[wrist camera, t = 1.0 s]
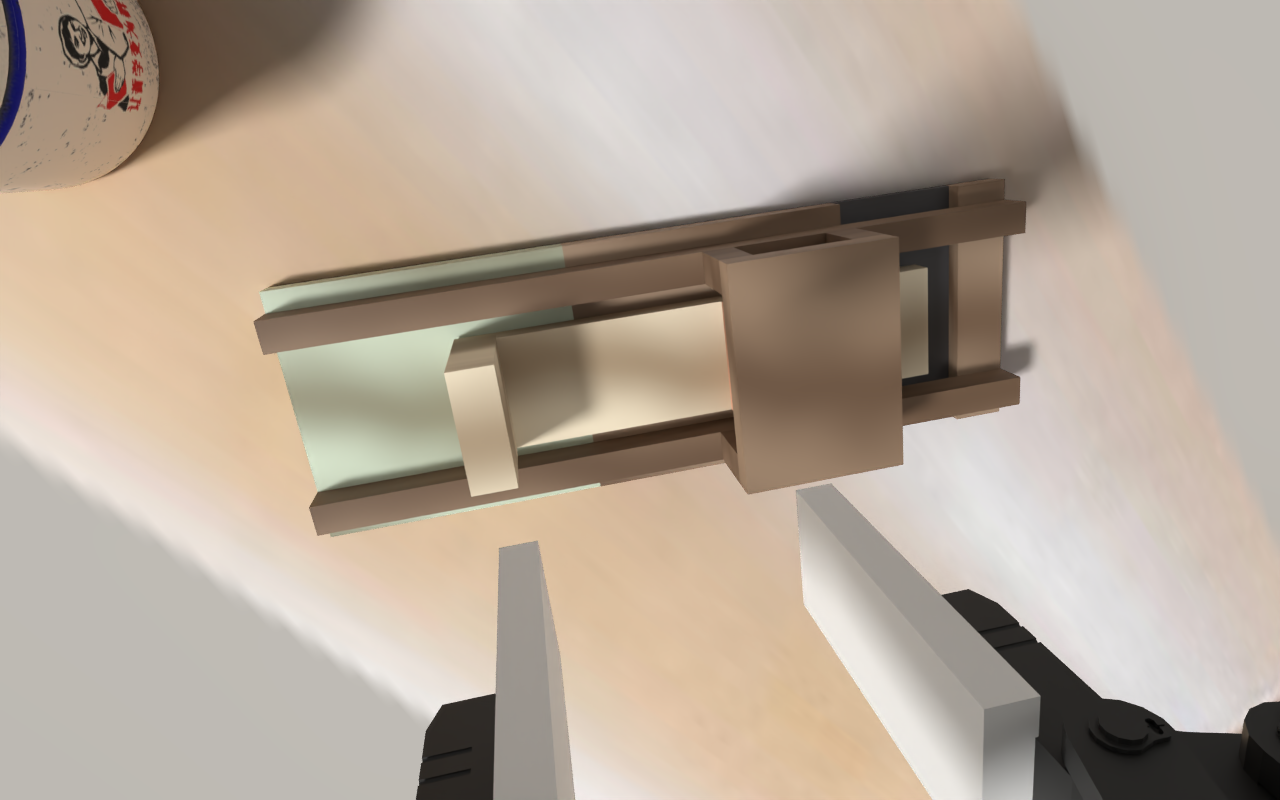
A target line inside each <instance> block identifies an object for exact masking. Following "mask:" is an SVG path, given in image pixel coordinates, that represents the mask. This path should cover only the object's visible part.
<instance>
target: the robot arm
mask: <svg viewBox="0 0 1280 800" xmlns="http://www.w3.org/2000/svg"><path fill="white" fill-rule="evenodd" d="M796 499H797V514H798V528H799V543H800V557H801V571H802V586H803V600H804V605H805V607H806V608H807V610H808V611H809V613H810V614H811V616H812V617H813V619H814V621H815V622H816V624H817V625H818V627H819V628H820V630H821V631H822V633H823V634H824V636H825V637H826V639H827V640H828V642H829V643H830V645H831V646H832V648H833V649H834V651H835V652H836V654H837V655H838V657H839V658H840V660H841V661H842V663H843V665H844V666H845V668H846V669H847V671H848V672H849V674H850V675H851V677H852V678H853V680H854V681H855V683H856V684H857V686H858V687H859V689H860V690H861V692H862V693H863V695H864V696H865V698H866V699H867V701H868V702H869V704H870V705H871V707H872V709H873V710H874V712H875V713H876V715H877V716H878V718H879V719H880V721H881V722H882V724H883V725H884V727H885V728H886V730H887V731H888V733H889V734H890V736H891V737H892V739H893V740H894V742H895V743H896V745H897V746H898V748H899V749H900V751H901V753H902V754H903V756H904V757H905V759H906V760H907V762H908V763H909V765H910V766H911V768H912V769H913V771H914V772H915V774H916V775H917V777H918V778H919V780H920V781H921V783H922V784H923V786H924V787H925V789H926V790H927V792H928V793H929V795H930V797H931V798H932V800H1280V702H1264V703H1262V704H1259V705H1257V706H1255V707H1253V708H1251V709H1249V711H1248V713H1247V715H1246V717H1245V719H1244V724H1243V731H1242V734H1232V733H1199V732H1182V731H1175V730H1174V729H1173V728H1172V727H1171V726H1170V725H1169V724H1168V723H1167V722H1166V721H1165V720H1164V719H1163V718H1161V717H1159V716H1157V715H1156V714H1154V713H1152V712H1150V711H1148V710H1147V709H1145V708H1143V707H1140V706H1137V705H1134V704H1131V703H1127V702H1124V701H1121V700H1113V699H1102V698H1101V697H1100V696H1099V695H1098V694H1097V693H1096V692H1094V691H1093V690H1092V689H1091V688H1090V687H1089V686H1088V685H1087V684H1086V683H1085V682H1084V681H1082V680H1081V679H1080V678H1079V677H1078V676H1077V675H1076V674H1075V673H1074V672H1073V671H1071V670H1070V669H1069V668H1068V667H1067V666H1066V665H1065V664H1064V663H1063V662H1062V661H1061V660H1059V659H1058V658H1057V657H1056V656H1055V655H1054V654H1053V653H1052V652H1051V651H1050V650H1048V649H1047V648H1046V647H1045V646H1044V645H1043V644H1042V643H1041V642H1039V643H1038V642H1037V640H1036V638H1035V637H1034V636H1033V635H1032V634H1031V633H1030V632H1029V631H1028V630H1027V629H1025V628H1024V627H1023V626H1022V627H1020V625H1019V622H1018V621H1017V620H1016V619H1015V618H1013V617H1012V616H1011V615H1010V614H1009V613H1008V612H1007V611H1006V610H1005V609H1004V608H1003V607H1001V606H1000V605H999V604H998V603H996V602H994V601H992V600H990V599H988V598H986V597H984V596H982V595H980V594H978V593H975V592H973V591H971V590H969V589H967V590H962V591H958V592H953V593H949V594H944V595H940V594H939V592H938V591H937V590H936V589H935V588H934V587H933V586H932V585H931V584H930V583H929V582H928V581H927V580H926V579H925V578H924V577H923V576H922V575H921V574H920V573H919V572H918V571H917V570H916V569H915V568H914V567H913V566H912V565H911V564H910V563H909V562H908V561H907V560H906V559H905V558H904V557H903V556H902V555H901V554H900V553H899V552H898V551H897V550H896V549H895V548H894V547H893V546H892V545H891V544H890V543H889V542H888V541H887V540H886V539H885V538H884V537H883V536H882V535H881V534H880V533H879V532H878V531H877V530H876V529H875V528H874V527H873V526H872V525H871V524H870V522H869V521H868V520H867V519H866V518H865V517H864V516H863V515H862V514H861V513H860V512H859V511H858V510H857V509H856V508H855V507H854V506H853V505H852V504H851V503H850V502H849V501H848V500H847V499H846V498H845V497H844V496H843V495H842V494H841V493H840V492H839V491H838V490H837V489H836V488H835V487H834V486H833V485H832V484H826V485H821V486H816V487H811V488H806V489H801V490H796ZM422 760H423V762H422V763H421V769H420V776H419V786H418V789H417V796H416V800H575V793H574V784H573V774H572V764H571V755H570V745H569V735H568V726H567V716H566V706H565V697H564V687H563V677H562V668H561V658H560V652H559V647H558V642H557V637H556V631H555V626H554V621H553V616H552V611H551V606H550V601H549V596H548V590H547V585H546V580H545V575H544V570H543V565H542V560H541V554H540V549H539V544H538V541H534V542H528V543H523V544H518V545H513V546H508V547H503V548H499V579H498V621H497V662H496V694H491V695H486V696H482V697H477V698H472V699H468V700H463V701H459V702H454V703H449V704H445V705H442V706H441V708H440V710H439V711H438V713H437V714H436V716H435V717H434V719H433V721H432V722H431V724H430V725H429V727H428V728H427V730H426V734H425V741H424V748H423V755H422Z"/></svg>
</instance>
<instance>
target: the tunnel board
mask: <svg viewBox="0 0 1280 800" xmlns="http://www.w3.org/2000/svg"><path fill="white" fill-rule="evenodd" d="M1004 189H1005V179H985V180H978V181H971V182H965V183H958V184H951V185H945V186H938V187H932V188H925V189H918V190H912V191H905V192H898V193H892V194H885V195H879V196H872V197H865V198H859V199H852V200H845V201H839V202H832V203H825V204H819V205H812V206H806V207H799V208H792V209H786V210H779V211H772V212H766V213H759V214H752V215H746V216H739V217H733V218H726V219H719V220H713V221H706V222H699V223H693V224H686V225H680V226H673V227H666V228H660V229H653V230H646V231H640V232H633V233H626V234H620V235H613V236H607V237H600V238H593V239H587V240H580V241H573V242H567V243H560V244H553V245H547V246H540V247H534V248H527V249H520V250H514V251H507V252H500V253H494V254H487V255H481V256H474V257H467V258H461V259H454V260H447V261H441V262H434V263H427V264H421V265H414V266H408V267H401V268H394V269H388V270H381V271H374V272H368V273H361V274H354V275H348V276H341V277H335V278H328V279H321V280H315V281H308V282H301V283H295V284H288V285H282V286H275V287H268V288H266V289H264V290H262V291H260V292H259V293H260V296H261V300H262V303H263V307H264V310H265V313H266V314H264V315H263V316H261V317H260V318H258V319H257V320H255V321H254V325H255V328H256V332H257V335H258V338H259V342H260V345H261V348H262V352H263V355H266V354H272V353H277V354H278V358H279V361H280V365H281V368H282V371H283V375H284V378H285V382H286V385H287V389H288V392H289V395H290V399H291V402H292V406H293V409H294V412H295V416H296V419H297V423H298V426H299V429H300V433H301V436H302V440H303V443H304V446H305V450H306V453H307V457H308V460H309V464H310V467H311V470H312V474H313V477H314V481H315V484H316V487H317V491H318V493H317V495H316V496H315V498H314V500H313V502H312V503H311V505H310V507H309V509H310V512H311V515H312V519H313V522H314V525H315V529H316V532H317V535H318V536H319V535H324V534H329V533H330V535H331V537H334V536H339V535H344V534H350V533H355V532H360V531H366V530H371V529H376V528H382V527H387V526H392V525H397V524H403V523H408V522H413V521H419V520H424V519H429V518H435V517H440V516H445V515H451V514H456V513H461V512H467V511H472V510H477V509H482V508H488V507H493V506H498V505H504V504H509V503H514V502H520V501H525V500H530V499H536V498H541V497H546V496H552V495H557V494H562V493H567V492H573V491H578V490H583V489H589V488H594V487H599V486H605V485H610V484H615V483H621V482H626V481H631V480H637V479H642V478H647V477H652V476H658V475H663V474H668V473H674V472H679V471H684V470H690V469H695V468H700V467H706V466H711V465H716V464H721V463H726V464H727V466H728V467H729V468H730V470H731V471H732V473H733V474H734V475H735V477H736V478H737V480H738V481H739V483H740V484H741V485H742V487H743V488H744V490H745V491H746V492H747V494H753V493H759V492H764V491H769V490H774V489H779V488H784V487H790V486H795V485H800V484H805V483H810V482H815V481H820V480H826V479H831V478H836V477H841V476H846V475H851V474H857V473H862V472H867V471H872V470H877V469H882V468H888V467H893V466H898V465H903V426H905V425H910V424H916V423H921V422H926V421H931V420H937V419H942V418H947V417H954V418H956V419H961V418H966V417H971V416H976V415H982V414H987V413H992V412H998V411H999V408H1001V407H1006V406H1011V405H1017V404H1019V402H1020V377H1019V376H1016V375H1014V374H1012V373H1009V372H1007V371H1005V370H1003V369H1000V352H1001V311H1002V271H1003V236H1008V235H1014V234H1020V233H1025V223H1026V202H1025V201H1013V200H1004ZM914 264H915V265H919V266H923V267H927V268H928V374H925V375H919V376H914V377H908V378H903V379H902V371H901V318H900V267H902V266H908V265H914ZM717 296H722V298H723V309H724V319H725V330H726V340H727V351H728V361H729V372H730V382H731V393H732V403H733V410H732V409H731V410H725V411H720V412H714V413H708V414H703V415H697V416H692V417H686V418H681V419H675V420H670V421H664V422H659V423H653V424H647V425H642V426H636V427H631V428H625V429H620V430H614V431H609V432H603V433H598V434H592V435H586V436H581V437H575V438H570V439H564V440H559V441H553V442H548V443H542V444H536V445H531V446H525V447H520V448H517V454H518V487H519V488H516V489H511V490H505V491H500V492H495V493H489V494H484V495H478V496H473V497H471V493H470V489H469V484H468V480H467V475H466V471H465V466H464V462H463V457H462V453H461V448H460V444H459V439H458V434H457V430H456V425H455V421H454V416H453V412H452V407H451V403H450V398H449V394H448V389H447V385H446V380H445V376H444V371H445V368H446V364H447V361H448V358H449V354H450V351H451V348H452V344H453V341H454V339H459V338H465V337H471V336H477V335H484V334H490V333H496V332H502V331H508V330H514V329H520V328H527V327H533V326H539V325H545V324H551V323H557V322H564V321H570V320H576V319H582V318H588V317H594V316H600V315H607V314H613V313H619V312H625V311H631V310H637V309H644V308H650V307H656V306H662V305H668V304H674V303H680V302H687V301H693V300H699V299H705V298H711V297H717Z"/></svg>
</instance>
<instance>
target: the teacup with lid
mask: <svg viewBox="0 0 1280 800" xmlns="http://www.w3.org/2000/svg"><path fill="white" fill-rule="evenodd" d="M158 90H159V67H158V59H157V53H156V48H155V44H154V40H153V37H152V34H151V31H150V28H149V25H148V23H147V20H146V18H145V16H144V13H143V11H142V9H141V7H140V6H139V4H138V2H137V0H0V194H1V193H15V192H29V191H43V190H56V189H63V188H69V187H74V186H77V185H81V184H84V183H87V182H90V181H92V180H95V179H97V178H99V177H101V176H103V175H105V174H107V173H109V172H110V171H112V170H113V169H115V168H116V167H118V166H119V165H120V164H121V163H122V162H123V161H125V160H126V159H127V158H128V157H129V156H130V155H131V154H132V152H133V151H134V150H135V149H136V148H137V146H138V145H139V144H140V142H141V141H142V139H143V137H144V136H145V134H146V132H147V130H148V128H149V126H150V123H151V121H152V119H153V115H154V112H155V108H156V104H157V98H158Z"/></svg>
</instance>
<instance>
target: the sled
mask: <svg viewBox="0 0 1280 800" xmlns="http://www.w3.org/2000/svg"><path fill="white" fill-rule="evenodd" d="M900 318H901V371H902V379H903V378H908V377H914V376H919V375H925V374H928V268H927V267H923V266H919V265H915V264H914V265H908V266H902V267H900ZM444 376H445V380H446V385H447V389H448V394H449V398H450V403H451V407H452V412H453V416H454V421H455V425H456V430H457V434H458V439H459V444H460V448H461V453H462V457H463V462H464V466H465V471H466V475H467V480H468V484H469V489H470V493H471V497H473V496H478V495H484V494H489V493H495V492H500V491H505V490H511V489H516V488H519V487H518V454H517V448H520V447H525V446H531V445H536V444H542V443H548V442H553V441H559V440H564V439H570V438H575V437H581V436H586V435H592V434H598V433H603V432H609V431H614V430H620V429H625V428H631V427H636V426H642V425H647V424H653V423H659V422H664V421H670V420H675V419H681V418H686V417H692V416H697V415H703V414H708V413H714V412H720V411H725V410H731V409H732V410H733V403H732V393H731V382H730V372H729V361H728V351H727V340H726V330H725V319H724V309H723V298H722V296H717V297H711V298H705V299H699V300H693V301H687V302H680V303H674V304H668V305H662V306H656V307H650V308H644V309H637V310H631V311H625V312H619V313H613V314H607V315H600V316H594V317H588V318H582V319H576V320H570V321H564V322H557V323H551V324H545V325H539V326H533V327H527V328H520V329H514V330H508V331H502V332H496V333H490V334H484V335H477V336H471V337H465V338H459V339H454V341H453V344H452V348H451V351H450V354H449V358H448V361H447V364H446V368H445V371H444Z"/></svg>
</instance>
